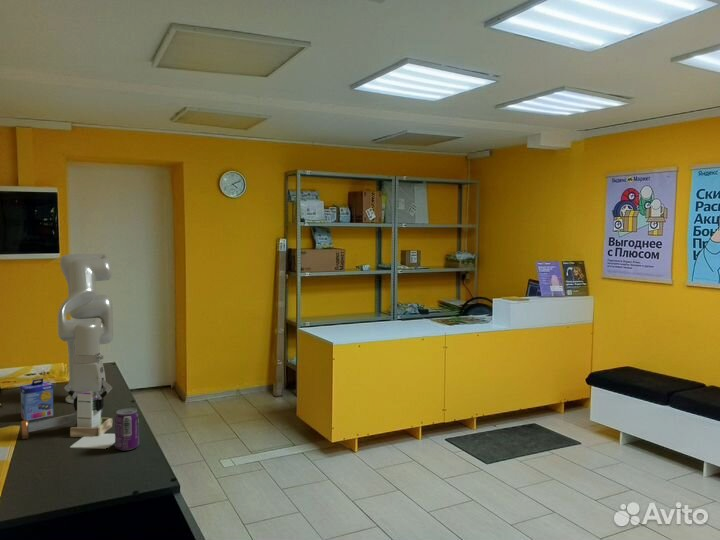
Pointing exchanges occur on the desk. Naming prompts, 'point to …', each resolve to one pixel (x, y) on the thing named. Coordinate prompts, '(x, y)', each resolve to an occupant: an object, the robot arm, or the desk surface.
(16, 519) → the desk surface
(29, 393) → the ink cartridge box
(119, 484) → the desk surface
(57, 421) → the lever
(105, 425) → the cradle
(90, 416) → the syrup box
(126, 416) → the beverage can
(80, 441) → the mat
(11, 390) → the desk surface
